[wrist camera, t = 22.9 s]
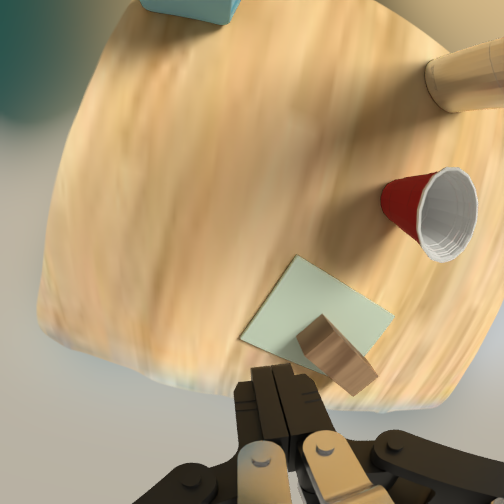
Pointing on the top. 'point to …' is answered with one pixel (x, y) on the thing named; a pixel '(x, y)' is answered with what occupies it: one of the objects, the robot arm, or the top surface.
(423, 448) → the robot arm
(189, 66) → the top surface
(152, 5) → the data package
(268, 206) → the top surface
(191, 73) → the top surface
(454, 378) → the top surface
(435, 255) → the plastic cup
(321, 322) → the walnut block
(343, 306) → the mat
